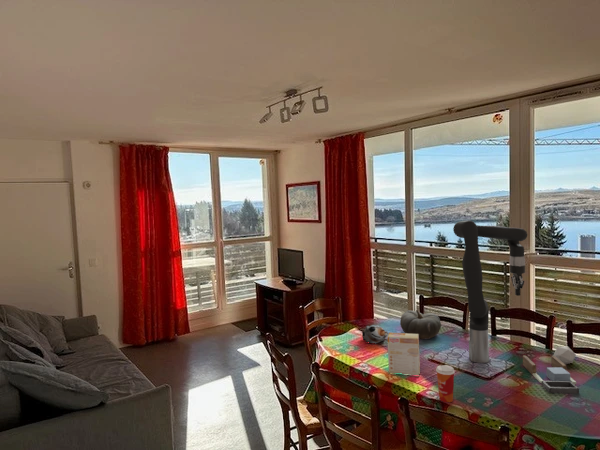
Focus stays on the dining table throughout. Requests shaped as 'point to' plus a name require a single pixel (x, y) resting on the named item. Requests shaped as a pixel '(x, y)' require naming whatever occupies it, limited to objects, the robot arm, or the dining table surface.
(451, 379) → the paper cup
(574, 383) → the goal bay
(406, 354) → the coffeecake box
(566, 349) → the die
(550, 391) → the tray
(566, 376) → the block
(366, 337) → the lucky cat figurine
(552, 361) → the tunnel
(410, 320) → the gourd
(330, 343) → the dining table surface
